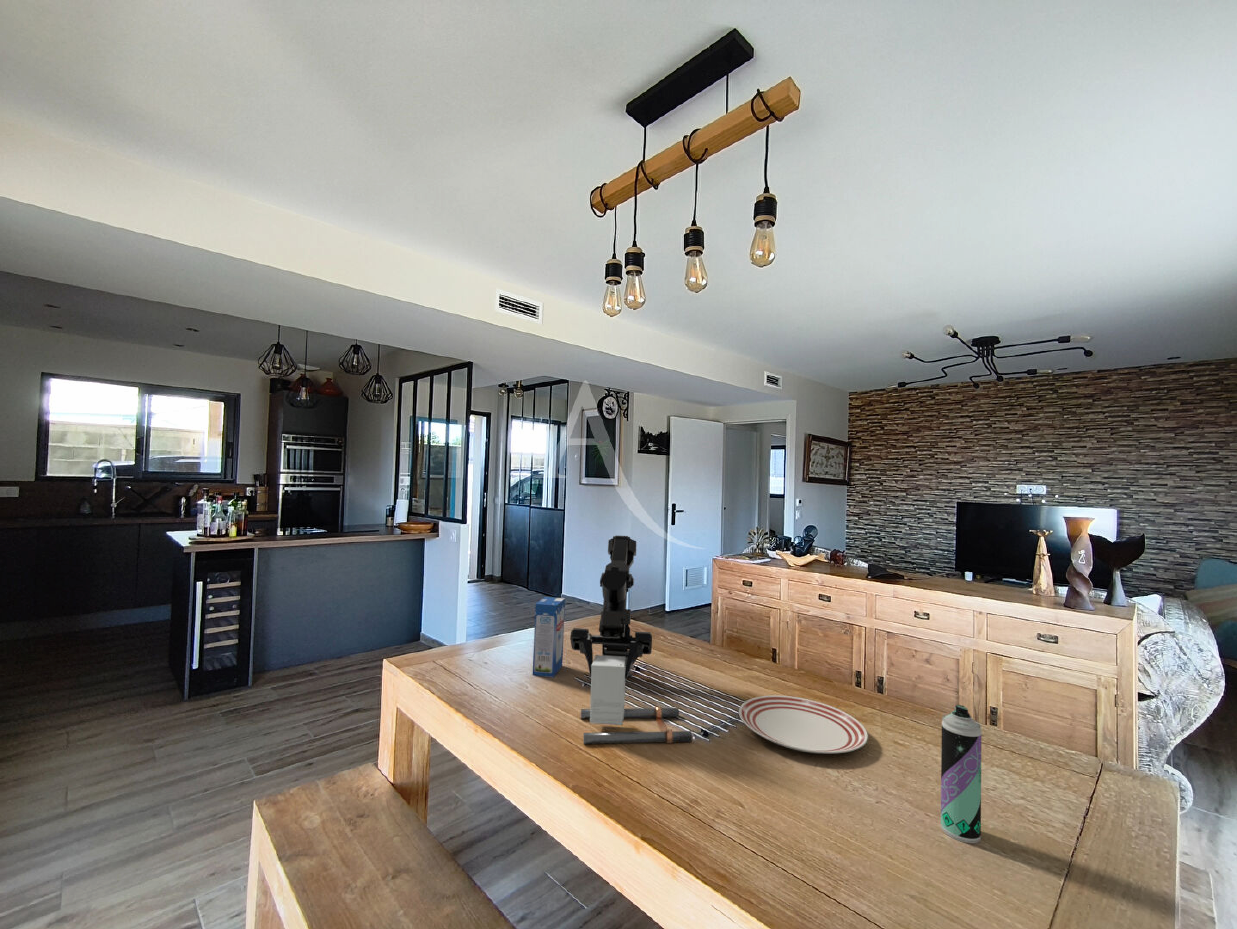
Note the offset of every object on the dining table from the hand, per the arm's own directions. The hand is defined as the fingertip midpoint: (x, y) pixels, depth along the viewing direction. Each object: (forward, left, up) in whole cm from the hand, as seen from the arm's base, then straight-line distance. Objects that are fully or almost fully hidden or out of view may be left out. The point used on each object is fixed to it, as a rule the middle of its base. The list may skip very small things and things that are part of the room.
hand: (608, 676), depth 117 cm
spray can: (-16, +64, -12) cm, 67 cm away
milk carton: (-17, -38, -12) cm, 44 cm away
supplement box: (-1, -1, -10) cm, 10 cm away
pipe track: (-6, +3, -12) cm, 14 cm away
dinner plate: (-32, +31, -12) cm, 46 cm away
